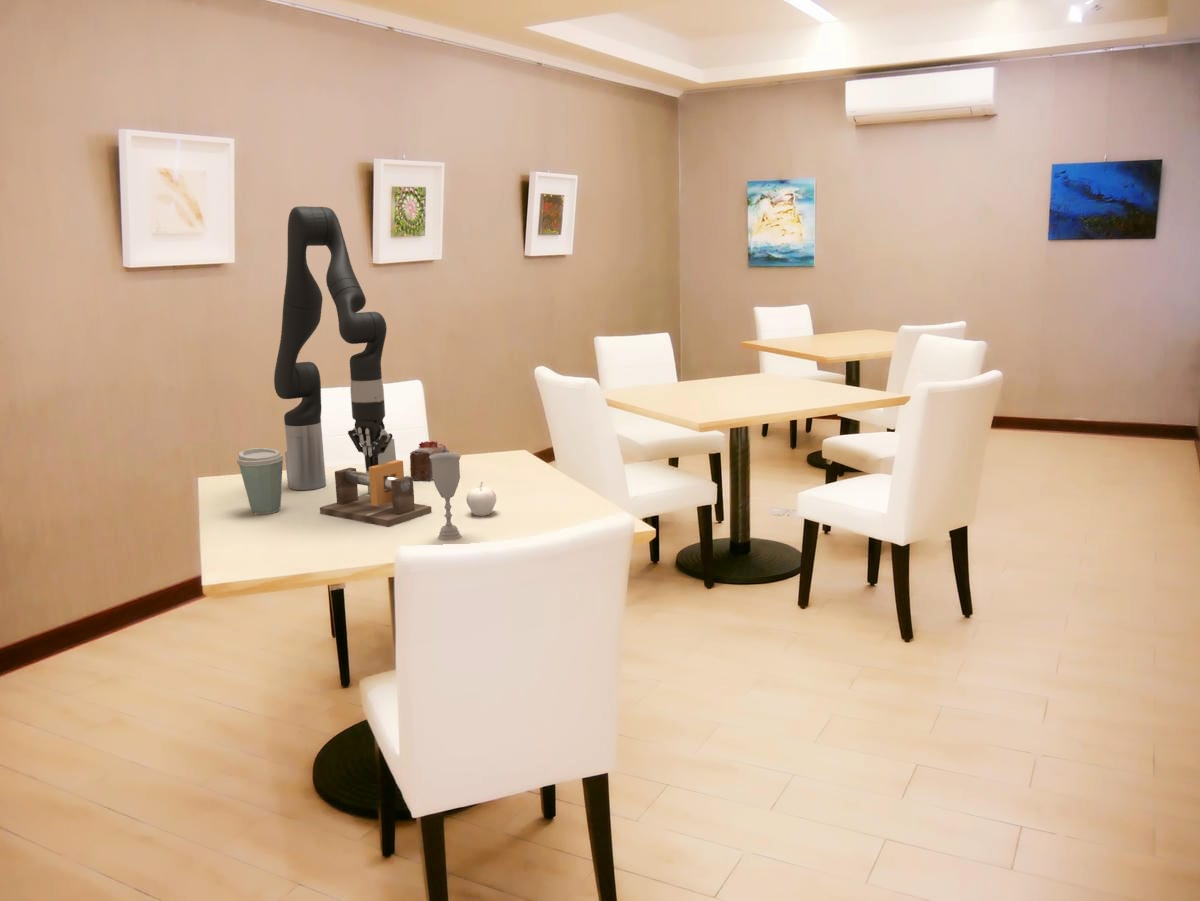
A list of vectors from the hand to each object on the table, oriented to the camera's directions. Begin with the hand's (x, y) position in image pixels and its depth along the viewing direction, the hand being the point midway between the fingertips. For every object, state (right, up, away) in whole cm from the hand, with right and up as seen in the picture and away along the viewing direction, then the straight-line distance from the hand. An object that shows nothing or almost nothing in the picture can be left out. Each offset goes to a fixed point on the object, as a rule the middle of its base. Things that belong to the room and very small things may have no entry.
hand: (372, 470), depth 229 cm
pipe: (0, -4, +1) cm, 4 cm away
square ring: (+4, -7, -1) cm, 8 cm away
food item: (+7, -2, +40) cm, 41 cm away
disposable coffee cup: (-27, -10, +5) cm, 29 cm away
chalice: (+21, -14, -19) cm, 32 cm away
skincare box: (-2, -7, +20) cm, 21 cm away
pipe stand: (0, -10, +2) cm, 10 cm away
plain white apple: (+26, -10, -1) cm, 28 cm away
